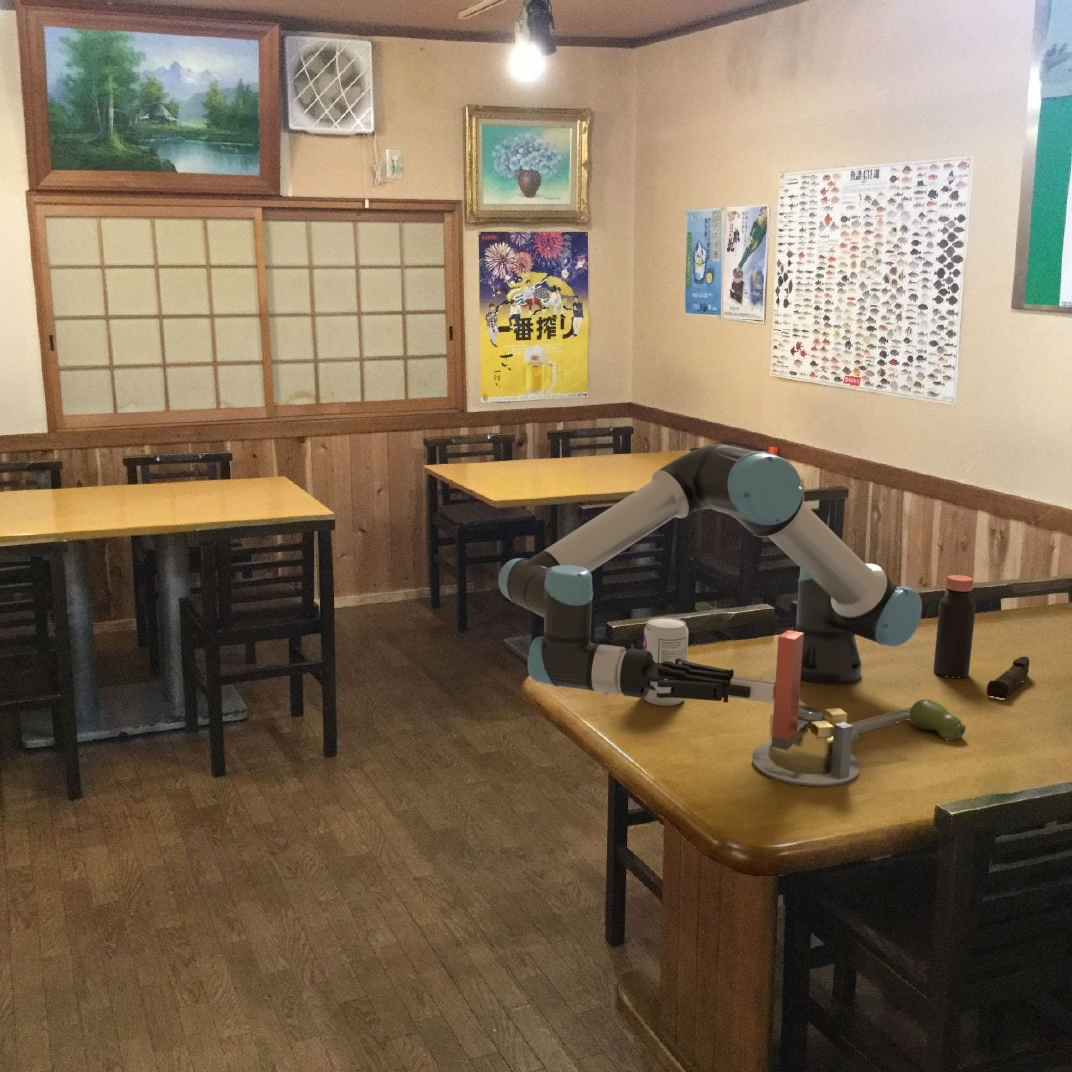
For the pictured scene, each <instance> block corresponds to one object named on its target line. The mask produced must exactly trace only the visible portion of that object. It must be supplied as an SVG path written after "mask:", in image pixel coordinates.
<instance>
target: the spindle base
mask: <svg viewBox="0 0 1072 1072" xmlns="http://www.w3.org/2000/svg"><path fill="white" fill-rule="evenodd" d="M823 712H824V711H822V709H820V708H816V707H811V706H807V707H799V709H798V719H799V720H804V721H809V725H808V726H811V722H815V721H823ZM847 723H848V722H847ZM847 723H845V722H841V723H837V724H834V734H833V747H832V760H831V771H829V772H821V773H810V772H801V771H795V770H791V769H788V768H785V767H782V766H780V765H778V764H776V763H774V762H773V761H772V760H771V759H770V758H769V755H768V752H769V741H768V742H764V743H762V744H760V745H757V747H756V748H754V750H753V752H752V761H751V762H752V764H754V765H753V767H754V768H755V769H756V768H757V769H758V770H759V772H760V771H761V772H762V773H761V772H760V773H761V774H763V775H764V774H766V775H768V776H769V777H768V776H767V777H768V778H770V777H772V778H771V779H773V778H774V779H773V780H775V779H778V780H780V781H779V782H781V781H782V783H785V782H786V783H785V784H789V785H794V784H798V785H797V786H799V785H806V786H805V787H808V786H817V787H816V788H822V787H821V786H831V787H836V786H835V785H838V786H841V785H840V784H843V785H845V784H848V783H850V781H851V782H852V780H853V779H854V780H855V779H857V778H858V776H859V775H860V766H861V765H860V761H859V760H858V759H857V757H856V756H855V755H854V754H853V753H852V743H853V741H852V732H853V726H852V725H850V724H847ZM757 769H756V770H757ZM758 770H757V771H758ZM858 774H859V775H858ZM766 775H765V776H766ZM778 780H777V781H778ZM854 780H853V781H854ZM819 786H820V787H819Z"/></svg>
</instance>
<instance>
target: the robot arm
mask: <svg viewBox="0 0 1072 1072" xmlns="http://www.w3.org/2000/svg"><path fill="white" fill-rule="evenodd" d="M801 483H802V480H801V477H800V474H799V473H798V470H797V469H796V467H795V466H794V465H793V464H792V463H791V462H790V461H788V460H786V459H785V458H783V457H780V456H778V455H777V454H775V453H772V452H771V453H770V452H768V451H767V452H766V451H755V450H749V449H747V448H746V449H745V448H741V447H736V446H732V445H728V444H724V443H723V444H721V443H717V444H709V445H705V446H701V447H698V448H697V449H693V450H692V451H689V452H687V453H686V454H683V455H681V456H680V457H677V458H676V459H674V460H672V461H671V462H669V463H667V464H665V465H664V466H662V467H661V468H660V469H658V470H656V471H655V472H653V474H652V477H651V481H650V482H648V483H646V484H645V485H643V486H642V487H641V488H639V489H638V490H635V491H634V492H633V493H631V494H630V495H628V496H626V497H625V498H623V499H622V500H620V501H619V502H617V503H616V504H613V505H612V506H611V507H609V508H607V509H606V510H605V511H603V512H601V513H600V514H598V515H596V516H595V517H594V518H592V519H590V520H589V521H587V522H586V523H584V524H583V525H581V526H580V527H578V528H577V529H574V531H572V532H570V533H569V534H567V535H566V536H564V537H563V538H561V539H560V540H558V541H557V542H555V543H553V544H552V545H550V546H549V547H547V548H545V549H544V550H542V551H541V552H539V553H538V554H536V555H534V556H532V557H531V558H530V559H528V558H525V557H524V558H523V557H521V558H520V557H517V558H513V559H511V560H509V561H507V562H506V563H505V564H504V565H503V566H502V567H501V569H500V571H499V575H498V579H497V580H498V587H499V591H500V592H501V593H502V595H503V596H504V597H505V598H507V599H508V600H510V601H511V602H512V603H514V604H515V605H517V606H520V607H522V608H524V609H527V610H529V611H531V612H532V613H534V614H536V615H538V616H540V617H542V618H544V619H543V620H544V621H543V622H544V623H543V636H537V637H535V638H534V639H533V640H532V643H530V647H529V651H528V652H529V653H528V656H527V672H528V674H529V677H530V678H531V679H532V681H535V682H536V683H541V684H546V685H550V686H553V687H556V688H561V687H562V688H568V689H569V688H571V689H578V690H586V691H591V692H592V691H593V692H601V693H602V695H604V696H609V695H610V694H615V695H620V694H622V695H623V696H625V697H632V698H638V699H640V698H641V699H644V697H646V696H647V694H648V693H649V690H655V691H656V690H657V697H658V698H671V697H673V698H685V700H686V699H688V700H689V699H690V700H699V701H700V700H701V701H713V702H714V701H715V702H721V701H722V700H723V701H722V702H723V703H728V702H729V698H735V699H742V700H749V701H755V702H763V703H769V704H770V703H771V704H772V703H774V698H775V682H776V680H769V679H768V680H767V679H761V678H755V677H754V678H753V677H746V676H739V675H734V674H735V673H734V672H735V670H734V669H731V668H730V669H727V668H726V669H725V668H720V667H716V666H710V665H706V664H702V663H697V662H696V663H695V662H691V661H688V660H687V661H685V660H682V659H675V664H674V663H673V662H663V663H655V662H654V661H653V656H652V654H651V652H650V651H647V650H643V649H638V648H628V649H626V648H625V646H616V645H610V644H609V645H608V644H600V643H594V642H591V628H592V610H593V598H594V592H593V576H592V573H591V572H593V571H594V570H596V569H597V568H599V567H601V566H602V565H603V564H605V563H606V562H608V561H610V560H611V559H613V558H614V557H615V556H617V555H619V554H620V553H621V552H623V551H625V550H626V549H627V548H629V547H631V546H632V545H634V544H635V543H637V542H638V541H640V540H642V539H643V538H644V537H646V536H647V535H649V534H651V533H652V532H654V531H655V530H657V529H658V528H660V527H661V526H663V525H665V524H667V522H669V521H671V520H672V519H673V518H678V519H684V518H686V517H687V516H688V515H690V514H691V513H694V512H696V511H700V510H713V511H716V512H719V513H723V514H726V515H729V516H731V517H733V518H734V519H736V520H737V521H738V522H739V523H740V524H741V525H742V526H744V528H745V529H747V531H749V532H750V533H751V534H752V535H753V536H755V537H758V538H769V539H770V540H771V541H772V542H773V543H774V544H775V545H776V546H777V547H778V548H779V549H780V550H781V551H783V552H784V553H785V555H787V556H788V557H789V558H790V559H791V560H792V561H793V562H794V563H795V564H796V565H798V566H799V567H800V571H799V577H798V580H797V585H798V586H797V599H796V600H797V601H796V603H797V605H796V622H795V625H796V626H795V631H796V632H801V633H804V637H803V651H802V666H801V680H804V681H807V682H813V683H820V684H847V683H852V682H854V681H857V680H859V679H860V678H861V677H862V670H863V669H862V661H861V656H860V652H859V647H858V645H857V641H856V640H857V639H856V636H858V637H861V638H864V639H866V640H868V641H869V640H870V641H872V642H875V643H877V644H878V645H881V646H887V647H890V648H893V647H899V646H900V645H903V644H905V643H906V642H908V641H909V639H911V638H912V636H913V635H914V634H915V632H916V631H917V628H918V627H919V624H920V622H921V618H922V611H923V603H922V599H921V596H920V593H918V592H917V590H915V589H914V588H911V587H910V586H909V585H901V584H899V583H898V582H896V581H895V580H894V579H893V578H892V577H890V575H888V573H887V572H886V571H884V569H883V568H882V567H880V566H879V565H877V564H874V563H871V562H870V563H869V562H868V563H866V562H864V561H863V560H862V559H861V558H860V557H859V556H858V555H857V554H856V553H855V552H854V551H853V550H852V549H851V548H850V547H849V546H848V545H847V544H846V543H845V542H844V541H843V540H842V539H841V538H840V537H839V536H838V535H836V533H835V532H834V531H833V530H832V529H831V528H830V527H828V525H827V524H826V523H825V522H824V521H823V520H822V519H820V517H819V516H817V514H815V512H814V511H813V510H812V509H811V508H810V507H809V506H808V505H806V504H805V501H804V500H805V494H804V491H803V488H802V487H801V486H800V484H801Z"/></svg>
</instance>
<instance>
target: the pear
mask: <svg viewBox="0 0 1072 1072" xmlns="http://www.w3.org/2000/svg"><path fill="white" fill-rule="evenodd" d="M911 707H912V708H911V710H910V719H911V720H910V721H911V723H912V725H913V726H915V727H916V728H918V729H920V730H923V731H924V730H925V731H927V730H928V731H936V732H937V733H938V735H939V736H940V738H941V739H943V740H945V739H948V740H951V741H954V740H958V739H957V738H959V739H961V738H962V737H963V736H964V734H965V733H966V725H964V724H963V723H962V721H961V719H959V718H958V717H957V716H955V715H954V714H951V713H950V711H948V709H946V708H945V707H944V706H943V705H941V704H939V703H938V702H936V701H933V700H930V699H926V698H925V699H919V700H917V701H916V702H915V703H914V704H913V705H912V706H911ZM960 737H961V738H960ZM948 740H947V741H948Z"/></svg>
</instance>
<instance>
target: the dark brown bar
mask: <svg viewBox="0 0 1072 1072" xmlns="http://www.w3.org/2000/svg"><path fill="white" fill-rule="evenodd" d="M1029 667H1030V658H1029V657H1028V656H1019V657H1018V658H1016V659H1014V660H1013V662H1012V664H1011V666H1010V667H1009V668H1008V669H1007V670H1006V671H1005V672H1004V673H1002V674H1001V675H999V676H998V677H997V678H996V679H994V680H990V681H989V682H988V684H987V686H986V695H987V696H988V697H989V696H994V697H999V698H1005V700H1006V699H1007V698H1008V697H1007V696H1009V695H1010V693H1011V692H1012V691H1013V690H1014V689H1016V688H1017V687H1018V686H1019V685H1020V684H1022V683H1021V682H1022V681H1025V679H1026V678H1028V674H1029ZM1026 680H1027V679H1026ZM1025 682H1026V681H1025Z"/></svg>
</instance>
